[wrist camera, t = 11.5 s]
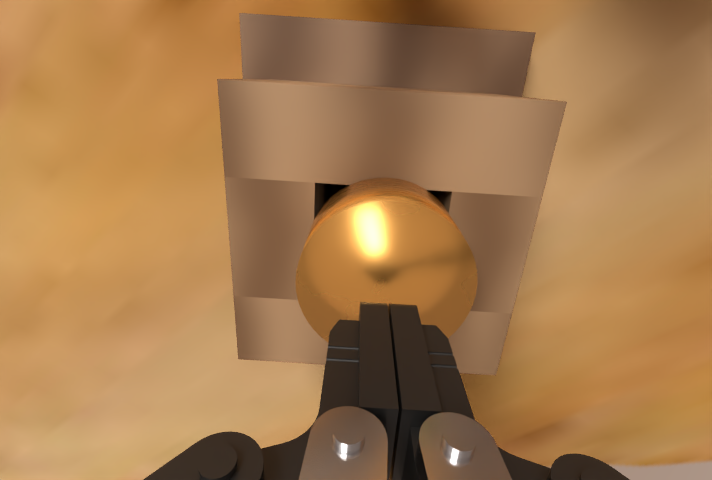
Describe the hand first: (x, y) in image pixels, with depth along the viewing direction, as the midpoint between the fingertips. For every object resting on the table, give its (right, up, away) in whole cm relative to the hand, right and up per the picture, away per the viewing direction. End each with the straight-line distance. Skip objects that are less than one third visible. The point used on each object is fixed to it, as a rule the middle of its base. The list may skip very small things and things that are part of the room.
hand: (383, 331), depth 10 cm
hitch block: (0, +6, +14) cm, 15 cm away
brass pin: (0, +5, +12) cm, 13 cm away
